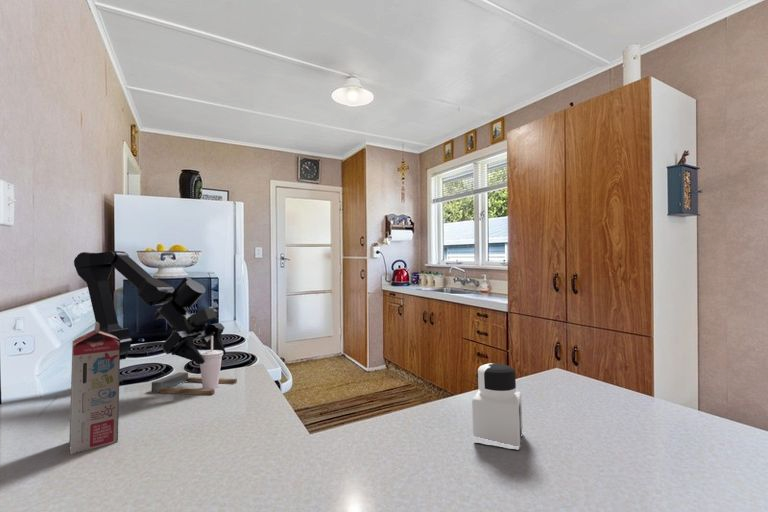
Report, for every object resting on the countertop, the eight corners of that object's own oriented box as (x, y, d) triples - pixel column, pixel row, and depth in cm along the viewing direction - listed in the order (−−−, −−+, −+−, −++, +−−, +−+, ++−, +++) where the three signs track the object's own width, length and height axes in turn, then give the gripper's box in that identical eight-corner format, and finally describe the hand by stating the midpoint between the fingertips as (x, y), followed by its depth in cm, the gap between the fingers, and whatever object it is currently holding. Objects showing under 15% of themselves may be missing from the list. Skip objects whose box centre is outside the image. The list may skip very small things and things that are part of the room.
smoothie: (227, 384, 101) (228, 334, 102) (214, 391, 95) (215, 338, 95) (206, 384, 102) (206, 334, 102) (192, 391, 95) (192, 338, 96)
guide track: (149, 392, 95) (150, 382, 95) (180, 380, 106) (180, 371, 106) (211, 394, 92) (212, 385, 92) (236, 382, 103) (236, 373, 103)
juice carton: (113, 431, 71) (116, 319, 72) (117, 442, 66) (120, 322, 67) (69, 442, 66) (73, 323, 68) (70, 454, 61) (74, 326, 63)
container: (523, 433, 66) (520, 362, 67) (519, 452, 59) (516, 373, 60) (480, 426, 70) (478, 359, 70) (473, 443, 63) (470, 368, 63)
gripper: (172, 300, 91) (211, 344, 89) (218, 296, 110) (251, 332, 107) (145, 331, 92) (183, 376, 90) (195, 322, 110) (228, 359, 108)
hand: (214, 358), depth 98 cm, fingers open, 9 cm apart
